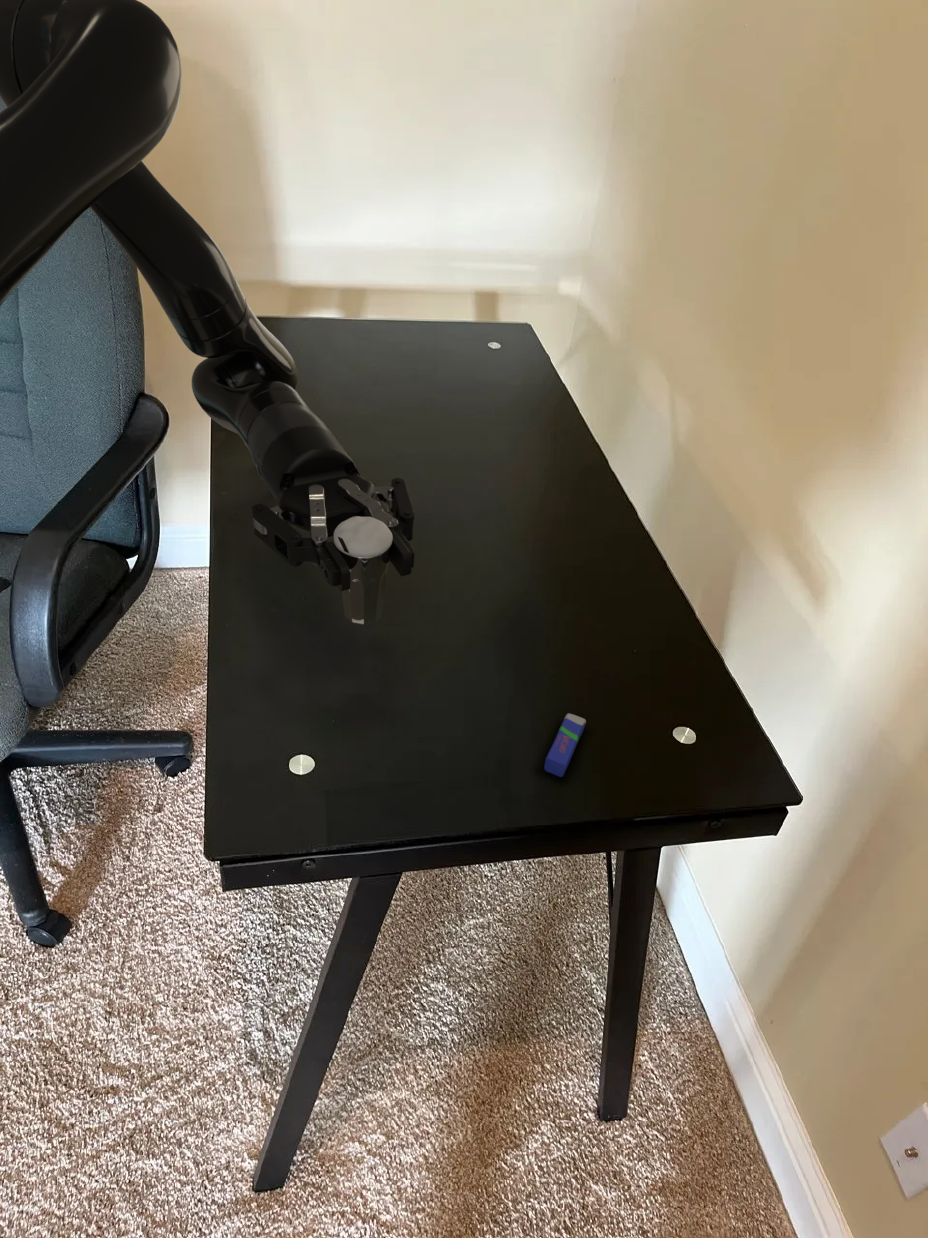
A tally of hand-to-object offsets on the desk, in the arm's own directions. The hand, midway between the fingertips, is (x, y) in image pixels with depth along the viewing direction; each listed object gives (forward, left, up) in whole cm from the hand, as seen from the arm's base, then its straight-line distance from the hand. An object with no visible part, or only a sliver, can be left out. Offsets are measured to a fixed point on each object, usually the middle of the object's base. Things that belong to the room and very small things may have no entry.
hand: (377, 573), depth 64 cm
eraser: (+16, -6, -17) cm, 25 cm away
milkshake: (-1, +3, -7) cm, 7 cm away
